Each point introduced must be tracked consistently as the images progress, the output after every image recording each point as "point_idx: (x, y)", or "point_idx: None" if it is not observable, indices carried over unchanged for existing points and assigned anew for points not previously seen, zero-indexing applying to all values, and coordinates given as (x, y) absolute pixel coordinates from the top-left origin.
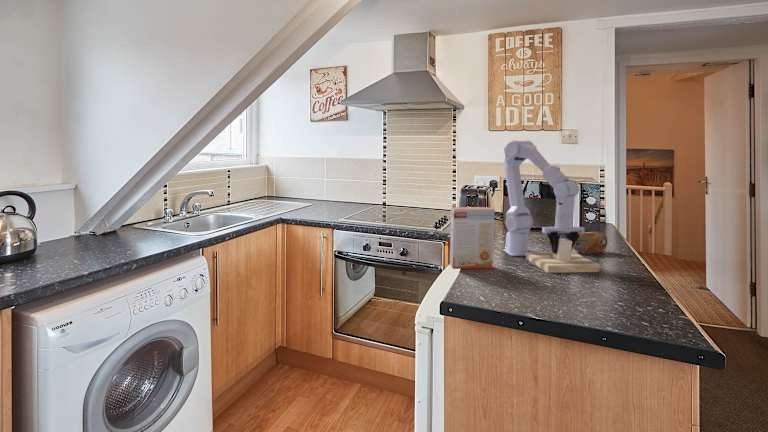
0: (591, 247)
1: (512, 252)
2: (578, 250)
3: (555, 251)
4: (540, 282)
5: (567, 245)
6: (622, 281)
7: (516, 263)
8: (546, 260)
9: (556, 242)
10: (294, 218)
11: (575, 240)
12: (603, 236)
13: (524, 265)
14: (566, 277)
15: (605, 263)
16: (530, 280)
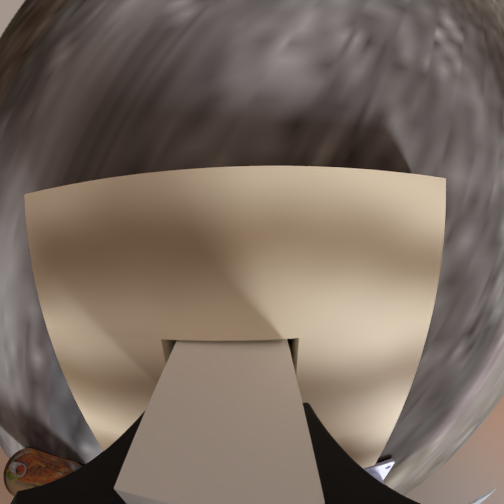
0: (46, 469)
1: (380, 477)
2: None
3: (315, 414)
4: (472, 51)
5: (191, 451)
6: (62, 33)
7: (453, 364)
8: (390, 326)
9: (349, 485)
10: (495, 489)
11: (70, 482)
12: (9, 479)
13: (446, 336)
14: (341, 65)
15: (9, 346)
16: (498, 87)
